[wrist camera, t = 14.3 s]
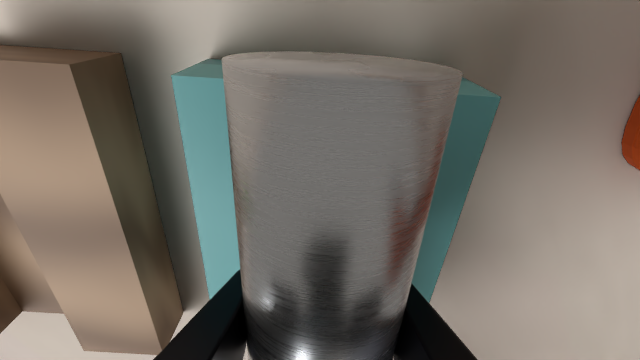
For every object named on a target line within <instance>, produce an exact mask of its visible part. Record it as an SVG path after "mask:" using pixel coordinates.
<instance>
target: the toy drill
mask: <svg viewBox="0 0 640 360" xmlns="http://www.w3.org/2000/svg"><path fill="white" fill-rule="evenodd" d="M622 155H623V156H624V158H625V159H626V161H627V162H628V163H629V164H630V165H632V166H634V167H635V168H637V169H638V170H640V96H639V98H638V100H637V102H636V103H635V105H634V108H633V110H632V113H631V115H630V117H629V120H628V122H627V124H626V127H625V131H624V135H623V139H622Z"/></svg>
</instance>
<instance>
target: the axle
mask: <svg viewBox="0 0 640 360" xmlns="http://www.w3.org/2000/svg"><path fill="white" fill-rule="evenodd" d="M222 70H223V81H224V92H225V103H226V115H227V126H228V137H229V148H230V160H231V171H232V182H233V193H234V204H235V216H236V227H237V238H238V249H239V261H240V272H241V283H242V294H243V305H244V317H245V328H246V339H247V350H248V360H393V356H394V352H395V348H396V343H397V339H398V335H399V331H400V327H401V323H402V319H403V315H404V311H405V307H406V303H407V299H408V295H409V291H410V287H411V283H412V279H413V274H414V270H415V266H416V262H417V258H418V254H419V250H420V246H421V242H422V238H423V234H424V230H425V226H426V222H427V218H428V214H429V209H430V205H431V201H432V197H433V193H434V189H435V185H436V181H437V177H438V173H439V169H440V165H441V161H442V157H443V153H444V149H445V145H446V140H447V136H448V132H449V128H450V124H451V120H452V116H453V112H454V108H455V104H456V100H457V96H458V92H459V88H460V84H461V80H462V75H463V73H462V71H460V70H458V69H455V68H452V67H449V66H445V65H440V64H435V63H430V62H424V61H417V60H410V59H402V58H393V57H384V56H373V55H361V54H347V53H328V52H294V51H276V52H250V53H239V54H232V55H228V56H225V57H223V58H222Z"/></svg>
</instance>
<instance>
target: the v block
mask: <svg viewBox="0 0 640 360" xmlns="http://www.w3.org/2000/svg"><path fill="white" fill-rule="evenodd" d="M171 78H172V83H173V89H174V95H175V101H176V107H177V113H178V118H179V124H180V130H181V136H182V142H183V147H184V153H185V159H186V165H187V171H188V176H189V182H190V188H191V194H192V200H193V206H194V211H195V217H196V223H197V229H198V235H199V240H200V246H201V252H202V258H203V264H204V269H205V275H206V281H207V287H208V293H209V299H211V298H212V297H213V296H214V295H215V294H216V293H217V292H218V291H219V290H220V289H221V288H222V287H223V286H224V285H225V284H226V282H227V281H228V280H229V279H230V278H231V277H232V276H233V275H234V274H235V273H236V272H237V271H238V270H240V261H239V249H238V238H237V227H236V216H235V204H234V193H233V182H232V171H231V160H230V148H229V137H228V126H227V115H226V103H225V92H224V81H223V70H222V60H217V59H207V60H205V61H203V62H200V63H198V64H196V65H193V66H191V67H189V68H187V69H184V70H182V71H180V72H177V73H175V74H173V75H171ZM500 99H501V97H500V96H498V95H496V94H494V93H492V92H490V91H488V90H486V89H484V88H483V87H481V86H479V85H477V84H475V83H473V82H471V81H469V80H467V79H465V78H463V77H462V80H461V84H460V88H459V92H458V96H457V100H456V104H455V108H454V112H453V116H452V120H451V124H450V128H449V132H448V136H447V140H446V145H445V149H444V153H443V157H442V161H441V165H440V169H439V173H438V177H437V181H436V185H435V189H434V193H433V197H432V201H431V205H430V209H429V214H428V218H427V222H426V226H425V230H424V234H423V238H422V242H421V246H420V250H419V254H418V258H417V262H416V266H415V270H414V274H413V279H412V284H413V285H414V286H415V287H416V289H417V290H418V291H419V292H420V293H421V294H422V296H423V297H424V298H425V299H426V300H427V301H428V303H429V302H430V299H431V296H432V293H433V291H434V288H435V285H436V282H437V279H438V276H439V273H440V271H441V268H442V265H443V262H444V259H445V256H446V253H447V251H448V248H449V245H450V242H451V239H452V236H453V233H454V231H455V228H456V225H457V222H458V219H459V216H460V213H461V211H462V208H463V205H464V202H465V199H466V196H467V193H468V191H469V188H470V185H471V182H472V179H473V176H474V173H475V171H476V168H477V165H478V162H479V159H480V156H481V153H482V150H483V148H484V145H485V142H486V139H487V136H488V133H489V130H490V128H491V125H492V122H493V119H494V116H495V113H496V110H497V108H498V105H499V102H500Z"/></svg>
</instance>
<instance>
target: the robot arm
mask: <svg viewBox="0 0 640 360" xmlns="http://www.w3.org/2000/svg"><path fill="white" fill-rule="evenodd" d="M246 343H247V339H246V328H245V317H244V305H243V294H242V283H241V272H240V270H238V271H237V272H236V273H235V274H234V275H233V276H232V277H231V278H230V279H229V280H228V281H227V282H226V284H225V285H224V286H223V287H222V288H221V289H220V290H219V291H218V292H217V293H216V294H215V295H214V296H213V297H212V298H211V299H210V300H209V301H208V302H207V304H206V305H205V306H204V307H203V308H202V309H201V310H200V311H199V312H198V313H197V314H196V315H195V316H194V317H193V318H192V319H191V320H190V321H189V322H188V324H187V325H186V326H185V327H184V328H183V329H182V330H181V331H180V332H179V333H178V334H177V335H176V336H175V337H174V338H173V339H172V340H171V341H170V343H169V344H168V345H167V346H166V347H165V348H164V349H163V350H162V351H161V352H160V353H159V354H158V355H157V356H156V357H155V358H154V359H153V360H243V356H244V353H245V348H246ZM394 360H477V358H476V357H475V356H474V355H473V354H472V353H471V351H470V350H469V349H468V348H467V347H466V346H465V344H464V343H463V342H462V341H461V340H460V339H459V338H458V336H457V335H456V334H455V333H454V332H453V331H452V329H451V328H450V327H449V326H448V325H447V324H446V322H445V321H444V320H443V319H442V318H441V317H440V315H439V314H438V313H437V312H436V311H435V310H434V308H433V307H432V306H431V305H430V304H429V303H428V301H427V300H426V299H425V298H424V297H423V296H422V294H421V293H420V292H419V291H418V290H417V289H416V287H415V286H414V285H413V284H412V283H411V287H410V291H409V295H408V299H407V303H406V307H405V311H404V315H403V319H402V323H401V327H400V331H399V335H398V339H397V343H396V348H395V352H394Z"/></svg>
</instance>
